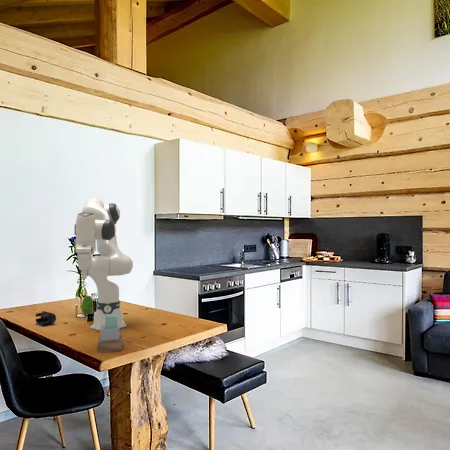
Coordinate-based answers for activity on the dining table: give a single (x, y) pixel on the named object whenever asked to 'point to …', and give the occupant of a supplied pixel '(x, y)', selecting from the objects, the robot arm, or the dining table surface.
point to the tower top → (109, 333)
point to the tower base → (110, 344)
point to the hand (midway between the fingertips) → (85, 277)
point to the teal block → (111, 321)
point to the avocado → (86, 305)
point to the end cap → (45, 319)
